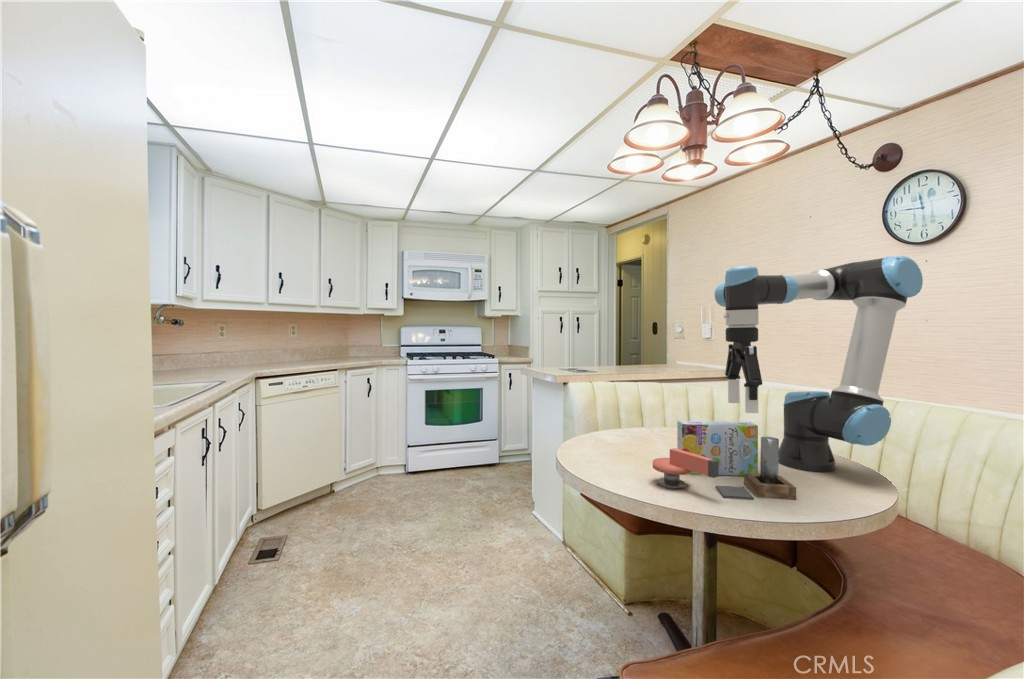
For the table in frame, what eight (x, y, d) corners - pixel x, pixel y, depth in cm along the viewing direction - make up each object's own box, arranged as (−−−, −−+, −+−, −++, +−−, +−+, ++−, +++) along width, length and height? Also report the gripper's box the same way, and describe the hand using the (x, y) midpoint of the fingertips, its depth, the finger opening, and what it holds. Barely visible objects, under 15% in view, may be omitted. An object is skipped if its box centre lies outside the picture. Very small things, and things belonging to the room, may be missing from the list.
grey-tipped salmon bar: (728, 479, 107) (728, 458, 106) (703, 487, 101) (703, 464, 101) (668, 460, 122) (669, 442, 122) (644, 466, 117) (645, 446, 117)
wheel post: (682, 480, 118) (682, 466, 118) (688, 489, 111) (688, 474, 111) (656, 478, 119) (656, 464, 119) (660, 488, 112) (660, 473, 112)
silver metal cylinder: (773, 489, 112) (774, 436, 111) (780, 495, 108) (781, 440, 107) (757, 488, 112) (758, 436, 112) (763, 494, 108) (764, 440, 108)
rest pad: (743, 489, 112) (743, 487, 112) (753, 499, 105) (753, 497, 105) (715, 487, 113) (715, 485, 113) (723, 497, 106) (723, 495, 106)
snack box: (749, 471, 127) (750, 421, 126) (758, 477, 121) (759, 425, 121) (676, 468, 129) (677, 419, 129) (681, 474, 123) (682, 423, 123)
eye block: (780, 486, 114) (780, 475, 114) (796, 499, 105) (796, 487, 105) (744, 484, 115) (744, 473, 115) (757, 497, 106) (757, 485, 106)
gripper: (713, 326, 123) (713, 399, 123) (742, 327, 98) (743, 417, 99) (740, 326, 121) (741, 399, 122) (777, 326, 97) (778, 417, 98)
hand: (742, 407), depth 111 cm, fingers open, 13 cm apart
